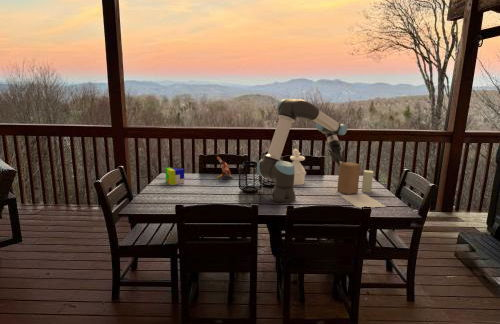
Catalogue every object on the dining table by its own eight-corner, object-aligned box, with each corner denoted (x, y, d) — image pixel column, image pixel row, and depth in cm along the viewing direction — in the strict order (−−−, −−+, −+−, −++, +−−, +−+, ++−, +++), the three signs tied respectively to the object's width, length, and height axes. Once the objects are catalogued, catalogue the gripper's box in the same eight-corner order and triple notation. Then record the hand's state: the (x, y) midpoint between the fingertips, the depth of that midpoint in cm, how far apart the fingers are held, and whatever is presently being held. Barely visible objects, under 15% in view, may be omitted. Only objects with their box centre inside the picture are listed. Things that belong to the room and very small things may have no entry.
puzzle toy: (184, 183, 236) (184, 169, 233) (171, 185, 230) (170, 171, 228) (179, 179, 244) (178, 166, 241) (165, 181, 238) (165, 168, 236)
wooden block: (348, 195, 218) (350, 165, 213) (336, 191, 226) (339, 162, 221) (358, 193, 223) (361, 164, 219) (346, 189, 231) (349, 161, 227)
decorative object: (282, 181, 247) (283, 148, 242) (297, 179, 253) (299, 147, 248) (294, 186, 234) (296, 152, 228) (309, 184, 240) (311, 150, 234)
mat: (340, 196, 215) (340, 195, 215) (365, 195, 219) (365, 194, 219) (358, 208, 193) (358, 207, 193) (385, 207, 197) (386, 206, 197)
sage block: (361, 191, 227) (363, 171, 223) (362, 189, 232) (364, 169, 229) (370, 192, 224) (373, 172, 221) (371, 190, 230) (373, 170, 227)
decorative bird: (208, 168, 264) (216, 151, 262) (229, 177, 268) (237, 160, 265) (208, 178, 237) (216, 159, 234) (231, 187, 240) (240, 168, 238)
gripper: (339, 145, 247) (348, 172, 235) (323, 145, 245) (331, 173, 232) (343, 139, 241) (353, 167, 229) (327, 139, 238) (335, 167, 226)
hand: (342, 170), depth 231 cm, fingers closed
